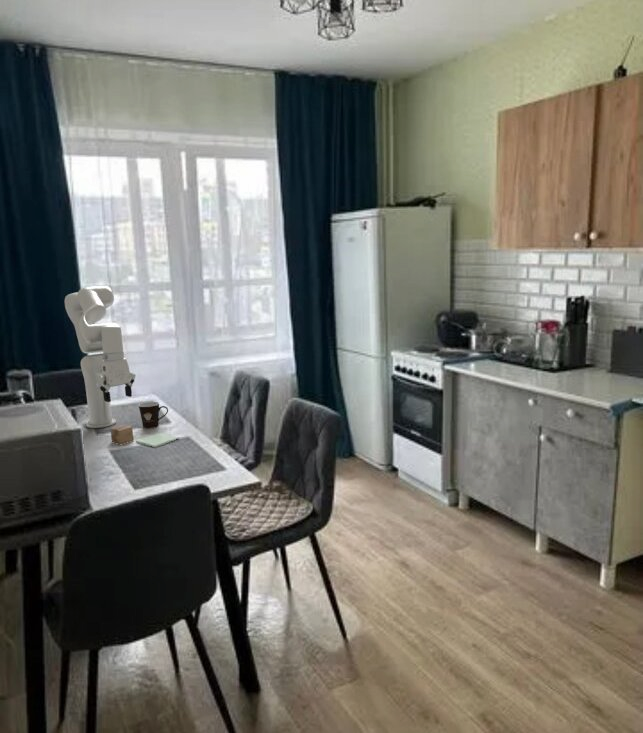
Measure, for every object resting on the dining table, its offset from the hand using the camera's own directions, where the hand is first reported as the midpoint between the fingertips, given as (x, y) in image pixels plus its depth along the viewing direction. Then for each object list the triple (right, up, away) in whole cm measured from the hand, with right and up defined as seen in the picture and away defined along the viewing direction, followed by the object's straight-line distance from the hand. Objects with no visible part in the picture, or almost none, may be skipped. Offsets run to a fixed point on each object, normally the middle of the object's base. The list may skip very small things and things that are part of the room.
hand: (118, 398), depth 236 cm
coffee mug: (+8, -14, +23) cm, 28 cm away
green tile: (+15, -17, +3) cm, 23 cm away
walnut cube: (+1, -18, +4) cm, 18 cm away
